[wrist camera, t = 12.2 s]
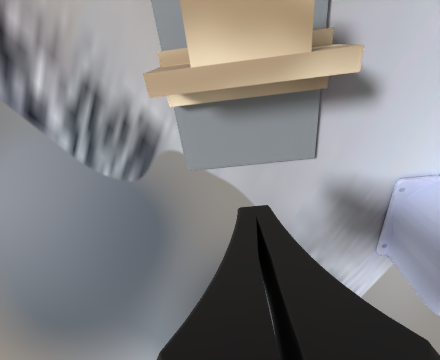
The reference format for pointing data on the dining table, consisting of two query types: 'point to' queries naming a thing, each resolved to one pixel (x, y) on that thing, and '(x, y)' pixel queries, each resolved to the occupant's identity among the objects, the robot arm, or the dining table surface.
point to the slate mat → (242, 112)
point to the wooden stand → (249, 52)
